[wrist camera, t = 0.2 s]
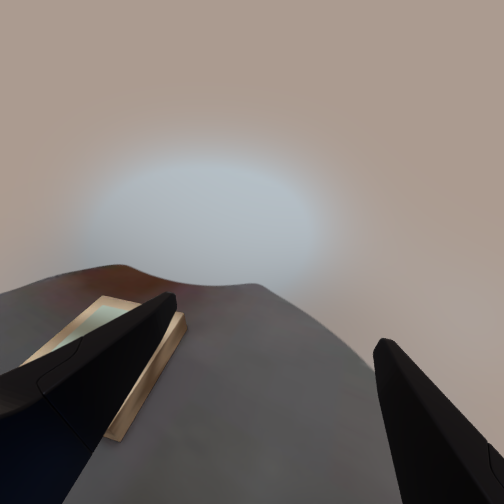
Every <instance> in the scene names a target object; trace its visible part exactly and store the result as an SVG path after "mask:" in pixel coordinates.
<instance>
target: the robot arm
mask: <svg viewBox="0 0 504 504" xmlns="http://www.w3.org/2000/svg"><path fill="white" fill-rule="evenodd" d="M176 310H177V302H176V295H175V293H172V292H164V293H162V294H160V295H158V296H156V297H155V298H153V299H151V300H149V301H147V302H145V303H143V304H141V305H139V306H138V307H136V308H134V309H132V310H130V311H128V312H126V313H124V314H123V315H121V316H119V317H117V318H115V319H113V320H111V321H109V322H107V323H106V324H104V325H102V326H100V327H98V328H96V329H94V330H92V331H91V332H89V333H87V334H85V335H84V336H81V337H79V338H77V339H75V340H73V341H72V342H70V343H68V344H66V345H64V346H62V347H60V348H58V349H56V350H54V351H52V352H50V353H48V354H45V355H43V356H41V357H39V358H37V359H35V360H33V361H31V362H28V363H26V364H24V365H22V366H20V367H17V368H15V369H13V370H11V371H9V372H7V373H4V374H2V375H0V504H62V503H63V501H64V500H65V498H66V496H67V495H68V493H69V491H70V490H71V488H72V487H73V485H74V483H75V482H76V480H77V478H78V477H79V475H80V474H81V472H82V470H83V469H84V467H85V465H86V464H87V462H88V460H89V459H90V457H91V456H92V453H93V452H94V450H95V449H96V447H97V446H98V444H99V442H100V441H101V439H102V437H103V436H104V434H105V432H106V431H107V429H108V428H109V426H110V424H111V423H112V421H113V419H114V418H115V416H116V415H117V413H118V411H119V410H120V408H121V406H122V405H123V403H124V401H125V400H126V398H127V397H128V395H129V393H130V392H131V390H132V388H133V387H134V385H135V384H136V382H137V380H138V379H139V377H140V375H141V374H142V372H143V370H144V369H145V367H146V366H147V364H148V362H149V361H150V359H151V357H152V356H153V354H154V353H155V351H156V349H157V348H158V346H159V344H160V343H161V341H162V339H163V337H164V335H165V333H166V331H167V329H168V327H169V325H170V322H171V320H172V318H173V316H174V314H175V312H176ZM373 359H374V367H375V376H376V384H377V392H378V398H379V402H380V407H381V411H382V416H383V420H384V424H385V429H386V433H387V437H388V442H389V446H390V451H391V455H392V459H393V464H394V468H395V472H396V477H397V481H398V485H399V490H400V494H401V499H402V503H403V504H504V458H503V457H502V456H501V455H500V454H499V452H498V451H497V450H496V449H495V448H494V447H493V446H492V445H491V444H490V443H488V442H487V440H486V439H485V438H484V437H483V435H482V434H481V433H480V432H479V431H478V430H477V429H476V428H475V427H474V426H473V425H472V424H471V423H470V422H469V421H468V420H467V418H466V417H465V416H464V415H463V414H462V413H461V412H460V411H459V410H458V409H457V408H456V407H455V406H454V405H453V404H452V402H451V401H450V400H449V399H448V398H447V397H446V396H445V395H444V394H443V393H442V392H441V391H440V390H439V388H438V387H437V386H436V385H435V384H434V383H433V382H432V381H431V380H430V379H429V378H428V377H427V376H426V375H425V374H424V372H423V371H422V370H421V369H420V368H419V367H418V366H417V365H416V364H415V363H414V362H413V361H412V360H411V358H410V357H409V356H408V355H407V354H406V353H405V352H404V351H403V350H402V349H401V348H400V347H399V346H398V345H397V343H396V342H395V341H393V340H391V339H386V338H381V339H380V340H379V342H378V344H377V345H376V347H375V349H374V351H373Z"/></svg>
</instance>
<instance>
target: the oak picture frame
mask: <svg viewBox="0 0 504 504" xmlns="http://www.w3.org/2000/svg"><path fill="white" fill-rule="evenodd" d="M139 305H141V304H139V303H134V302H130V301H125V300H121V299H116V298H112V297H107V296H101V297H100V298H99V299H98V300H97V301H96V302H94V303H93V304H92V305H91V306H90V307H89V308H87V309H86V310H85V311H84V312H83V313H81V314H80V315H79V316H78V317H77V318H76V319H74V320H73V321H72V322H71V323H70V324H69V325H67V326H66V327H65V328H64V329H63V330H62V331H60V332H59V333H58V334H57V335H56V336H55V337H53V338H52V339H51V340H50V341H49V342H47V343H46V344H45V345H44V346H43V347H42V348H40V349H39V350H38V351H37V352H36V353H35V354H33V355H32V356H31V357H30V358H29V359H28V360H26V361H25V362H24V363H23V364H22V365H24V364H26V363H28V362H31V361H33V360H35V359H37V358H39V357H41V356H43V355H45V354H48V353H50V352H52V351H54V350H56V349H58V348H60V347H62V346H64V345H66V344H68V343H70V342H72V341H73V340H75V339H77V338H79V337H81V336H84V335H85V334H87V333H89V332H91V331H92V330H94V329H96V328H98V327H100V326H102V325H104V324H106V323H107V322H109V321H111V320H113V319H115V318H117V317H119V316H121V315H123V314H124V313H126V312H128V311H130V310H132V309H134V308H136V307H138V306H139ZM186 330H187V326H186V321H185V316H184V313H180V312H175V314H174V316H173V318H172V320H171V322H170V325H169V327H168V329H167V331H166V333H165V335H164V337H163V339H162V341H161V343H160V344H159V346H158V348H157V349H156V351H155V353H154V354H153V356H152V357H151V359H150V361H149V362H148V364H147V366H146V367H145V369H144V370H143V372H142V374H141V375H140V377H139V379H138V380H137V382H136V384H135V385H134V387H133V388H132V390H131V392H130V393H129V395H128V397H127V398H126V400H125V401H124V403H123V405H122V406H121V408H120V410H119V411H118V413H117V415H116V416H115V418H114V419H113V421H112V423H111V424H110V426H109V428H108V429H107V431H106V432H105V434H104V437H107V438H109V439H112V440H115V441H118V442H121V440H122V438H123V437H124V435H125V433H126V432H127V430H128V428H129V427H130V425H131V423H132V422H133V420H134V418H135V416H136V415H137V413H138V411H139V410H140V408H141V406H142V405H143V403H144V401H145V400H146V398H147V396H148V394H149V393H150V391H151V389H152V388H153V386H154V384H155V383H156V381H157V379H158V377H159V376H160V374H161V372H162V371H163V369H164V367H165V366H166V364H167V362H168V361H169V359H170V357H171V355H172V354H173V352H174V350H175V349H176V347H177V345H178V344H179V342H180V340H181V339H182V337H183V335H184V333H185V332H186ZM22 365H21V366H22ZM19 367H20V366H19Z"/></svg>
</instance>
